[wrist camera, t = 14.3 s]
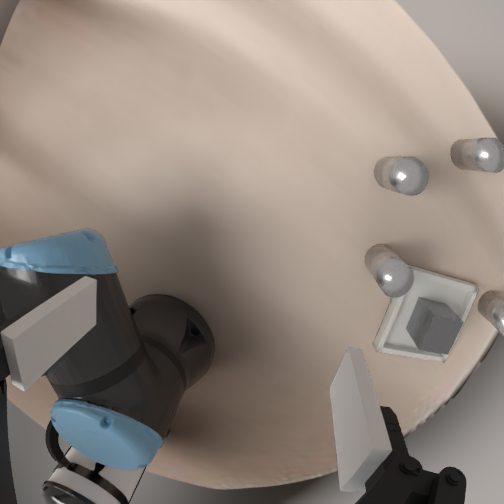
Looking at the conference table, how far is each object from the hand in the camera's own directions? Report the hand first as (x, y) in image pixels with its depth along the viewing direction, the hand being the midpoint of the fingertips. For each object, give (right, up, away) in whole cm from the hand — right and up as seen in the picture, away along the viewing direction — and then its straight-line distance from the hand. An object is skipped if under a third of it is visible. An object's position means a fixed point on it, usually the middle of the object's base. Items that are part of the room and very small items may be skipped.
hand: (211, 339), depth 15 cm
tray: (+27, -5, +26) cm, 38 cm away
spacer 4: (+38, -4, +24) cm, 46 cm away
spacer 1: (+19, +14, +22) cm, 32 cm away
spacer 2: (+19, +3, +25) cm, 31 cm away
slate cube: (+27, -5, +25) cm, 37 cm away
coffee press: (-21, -25, +38) cm, 50 cm away
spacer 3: (+30, +17, +20) cm, 40 cm away
